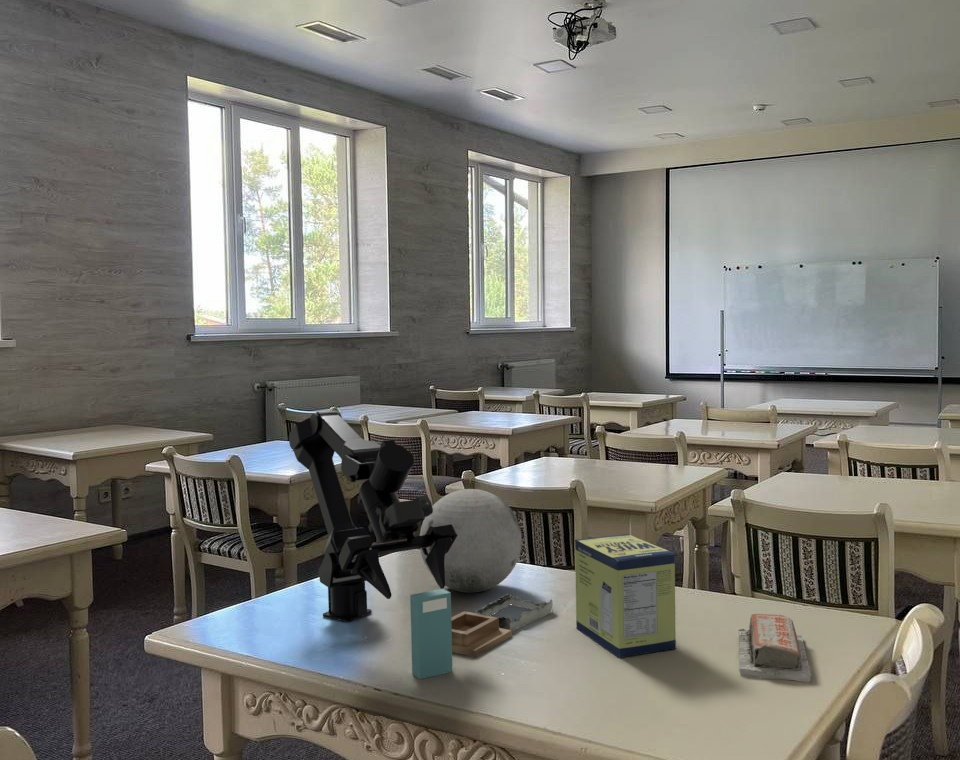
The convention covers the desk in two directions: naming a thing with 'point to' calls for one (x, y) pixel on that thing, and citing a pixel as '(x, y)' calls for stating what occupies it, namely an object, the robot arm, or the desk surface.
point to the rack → (476, 633)
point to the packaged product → (772, 649)
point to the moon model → (476, 539)
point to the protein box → (625, 594)
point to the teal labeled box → (431, 633)
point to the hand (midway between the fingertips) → (417, 592)
